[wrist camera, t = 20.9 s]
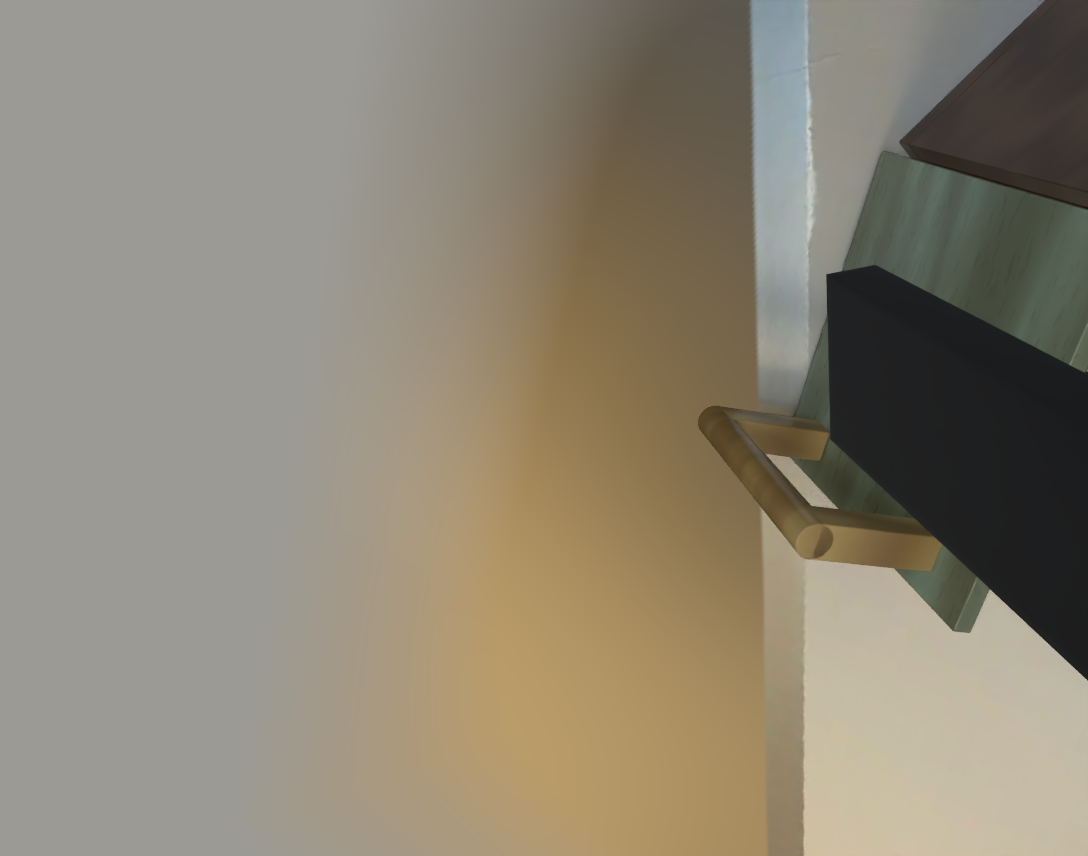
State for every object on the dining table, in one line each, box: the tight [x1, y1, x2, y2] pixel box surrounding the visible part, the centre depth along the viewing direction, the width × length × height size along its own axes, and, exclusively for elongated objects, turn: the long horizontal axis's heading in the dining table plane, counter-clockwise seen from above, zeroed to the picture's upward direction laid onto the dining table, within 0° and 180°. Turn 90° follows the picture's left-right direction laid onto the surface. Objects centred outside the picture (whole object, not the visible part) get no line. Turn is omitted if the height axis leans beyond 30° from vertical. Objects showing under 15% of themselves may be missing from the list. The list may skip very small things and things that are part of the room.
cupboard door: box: [698, 151, 1088, 633], centre depth 41 cm, size 7×16×17 cm, turn 168°
